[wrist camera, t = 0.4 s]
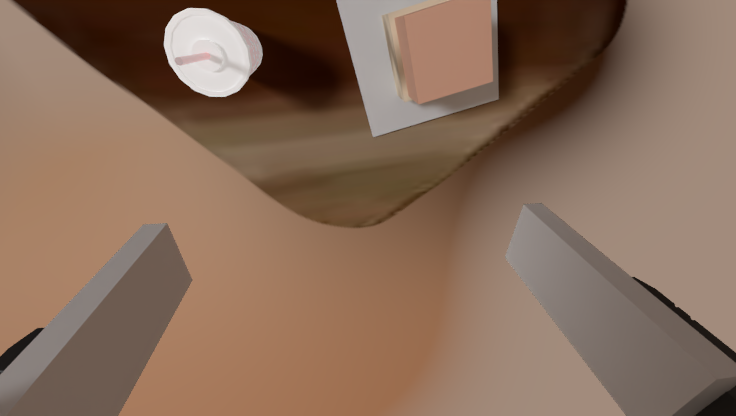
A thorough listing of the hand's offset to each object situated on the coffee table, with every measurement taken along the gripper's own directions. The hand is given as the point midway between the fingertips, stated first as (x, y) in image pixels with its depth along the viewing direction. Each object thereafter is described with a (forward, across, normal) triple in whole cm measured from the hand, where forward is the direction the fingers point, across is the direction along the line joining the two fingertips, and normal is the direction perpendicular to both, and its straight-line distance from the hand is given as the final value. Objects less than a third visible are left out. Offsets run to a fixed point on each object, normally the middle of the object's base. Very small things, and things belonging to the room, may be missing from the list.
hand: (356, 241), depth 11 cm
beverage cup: (+27, -10, +5) cm, 29 cm away
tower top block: (+22, +10, +6) cm, 25 cm away
